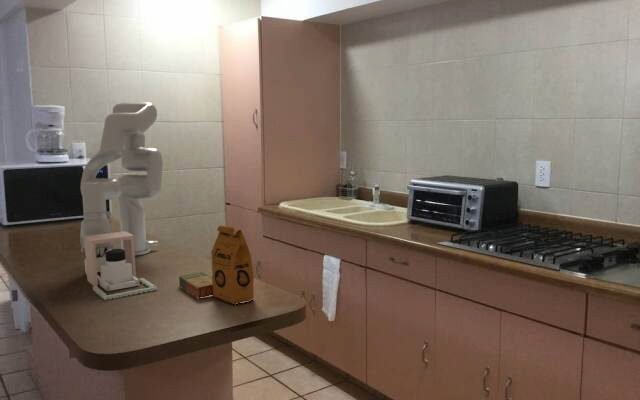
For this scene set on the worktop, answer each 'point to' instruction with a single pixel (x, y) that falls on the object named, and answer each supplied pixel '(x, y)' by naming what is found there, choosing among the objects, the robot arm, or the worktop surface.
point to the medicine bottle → (116, 267)
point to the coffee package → (232, 267)
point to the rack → (106, 285)
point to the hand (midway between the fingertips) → (98, 266)
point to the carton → (197, 284)
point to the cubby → (104, 238)
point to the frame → (147, 283)
